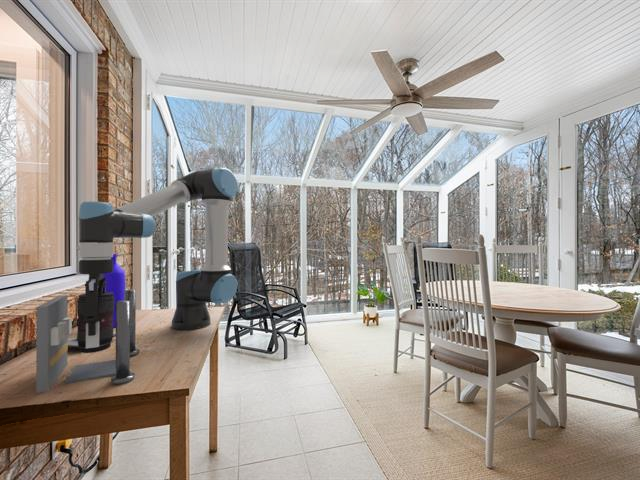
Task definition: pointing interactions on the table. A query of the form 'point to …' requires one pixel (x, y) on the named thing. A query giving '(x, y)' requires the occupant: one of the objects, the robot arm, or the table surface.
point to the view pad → (92, 371)
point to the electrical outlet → (74, 342)
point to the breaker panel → (51, 341)
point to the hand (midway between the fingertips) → (95, 342)
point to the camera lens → (104, 323)
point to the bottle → (115, 284)
